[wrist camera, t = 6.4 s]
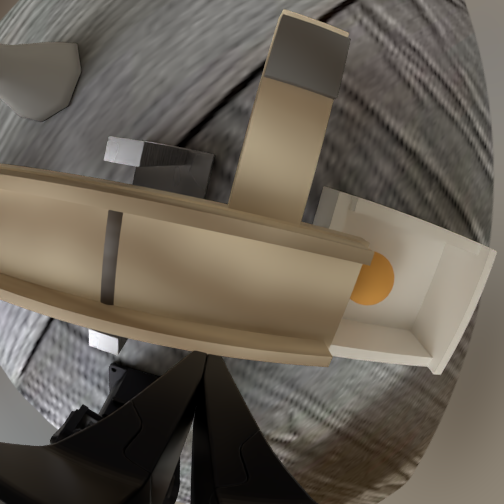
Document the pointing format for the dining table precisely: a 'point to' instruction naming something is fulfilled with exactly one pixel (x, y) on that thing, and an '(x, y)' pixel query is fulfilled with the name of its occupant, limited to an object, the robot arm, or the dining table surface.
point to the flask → (38, 77)
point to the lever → (200, 233)
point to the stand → (156, 177)
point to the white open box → (407, 284)
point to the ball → (373, 281)
